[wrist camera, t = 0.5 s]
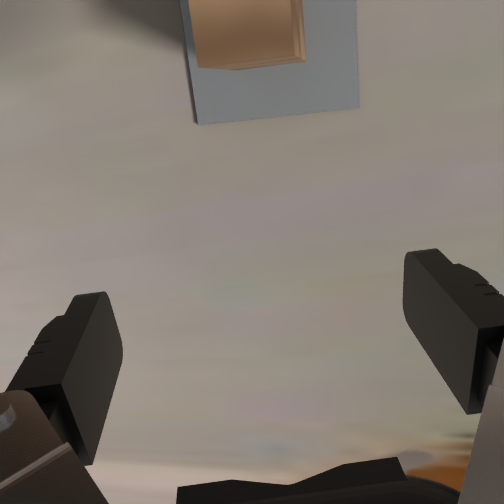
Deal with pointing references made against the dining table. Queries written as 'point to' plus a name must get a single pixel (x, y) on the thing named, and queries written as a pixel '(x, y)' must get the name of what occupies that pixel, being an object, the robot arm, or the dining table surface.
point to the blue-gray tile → (285, 72)
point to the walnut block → (247, 33)
